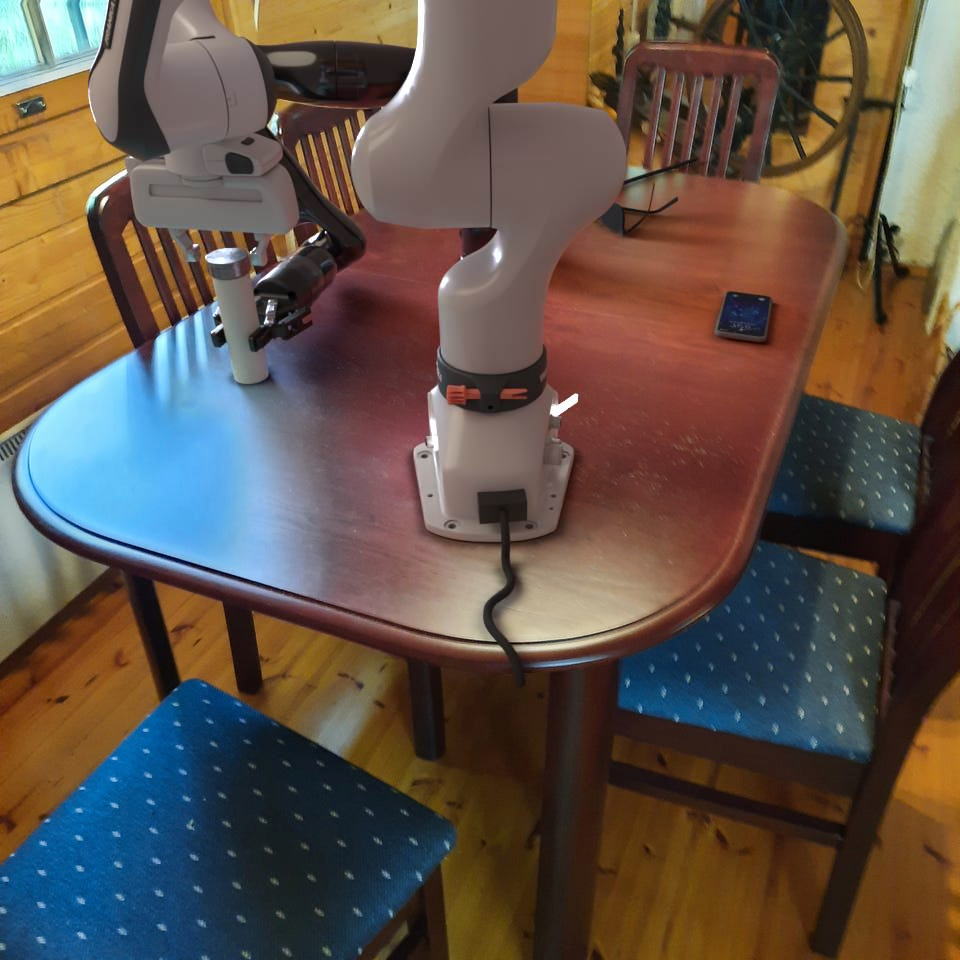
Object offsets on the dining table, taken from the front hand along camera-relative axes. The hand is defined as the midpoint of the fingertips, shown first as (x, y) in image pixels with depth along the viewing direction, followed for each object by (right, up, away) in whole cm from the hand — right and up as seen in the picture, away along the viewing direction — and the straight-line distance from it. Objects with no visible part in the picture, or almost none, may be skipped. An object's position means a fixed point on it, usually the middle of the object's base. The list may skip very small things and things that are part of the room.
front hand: (226, 262), depth 108 cm
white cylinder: (+1, -13, +10) cm, 16 cm away
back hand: (0, -10, +4) cm, 10 cm away
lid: (0, 0, 0) cm, 1 cm away
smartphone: (+71, -3, +20) cm, 74 cm away
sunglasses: (+61, +22, +55) cm, 85 cm away
